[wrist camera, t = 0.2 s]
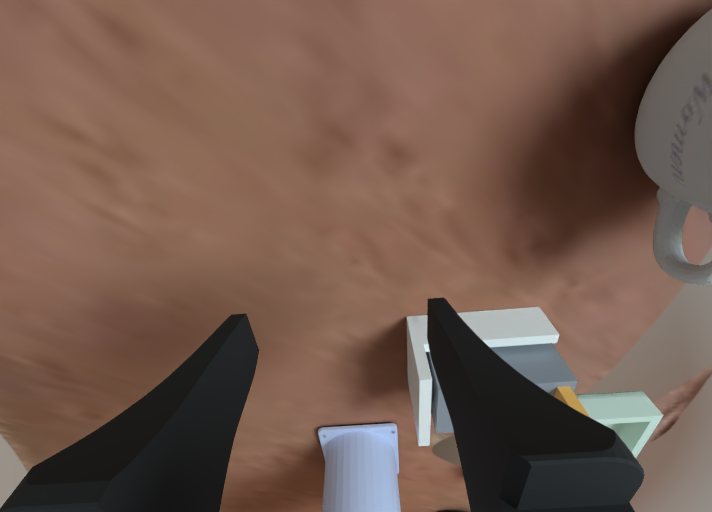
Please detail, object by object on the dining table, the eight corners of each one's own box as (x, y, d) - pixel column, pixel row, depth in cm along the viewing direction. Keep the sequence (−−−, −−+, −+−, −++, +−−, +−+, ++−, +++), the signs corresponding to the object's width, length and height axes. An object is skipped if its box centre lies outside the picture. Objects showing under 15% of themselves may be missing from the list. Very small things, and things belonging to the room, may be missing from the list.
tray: (602, 461, 38) (617, 485, 36) (473, 468, 38) (480, 492, 36) (642, 390, 31) (663, 415, 29) (486, 400, 32) (495, 425, 30)
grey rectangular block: (523, 360, 29) (584, 469, 22) (421, 367, 30) (445, 477, 22) (534, 317, 27) (608, 424, 19) (422, 326, 27) (449, 434, 19)
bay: (522, 371, 30) (557, 437, 25) (407, 379, 30) (418, 446, 25) (538, 306, 26) (585, 369, 21) (406, 316, 26) (419, 380, 21)
